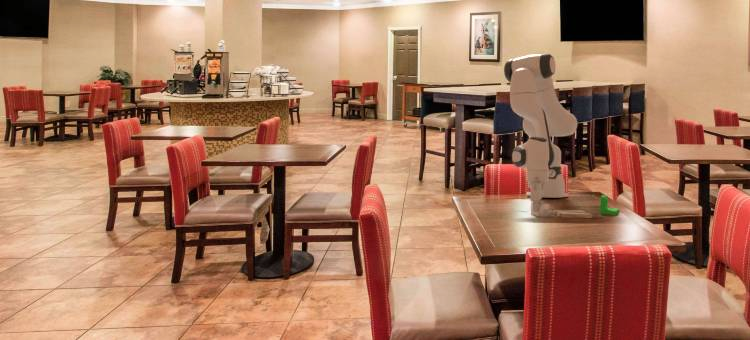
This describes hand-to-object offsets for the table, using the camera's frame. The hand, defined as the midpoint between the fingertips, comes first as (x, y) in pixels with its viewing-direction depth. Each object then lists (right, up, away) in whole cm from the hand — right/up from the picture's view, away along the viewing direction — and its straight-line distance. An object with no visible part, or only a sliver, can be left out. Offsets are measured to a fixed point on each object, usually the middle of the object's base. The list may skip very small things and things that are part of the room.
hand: (536, 210), depth 251 cm
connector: (+1, -2, -2) cm, 3 cm away
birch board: (+14, -2, -1) cm, 14 cm away
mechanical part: (+33, -2, +7) cm, 33 cm away
